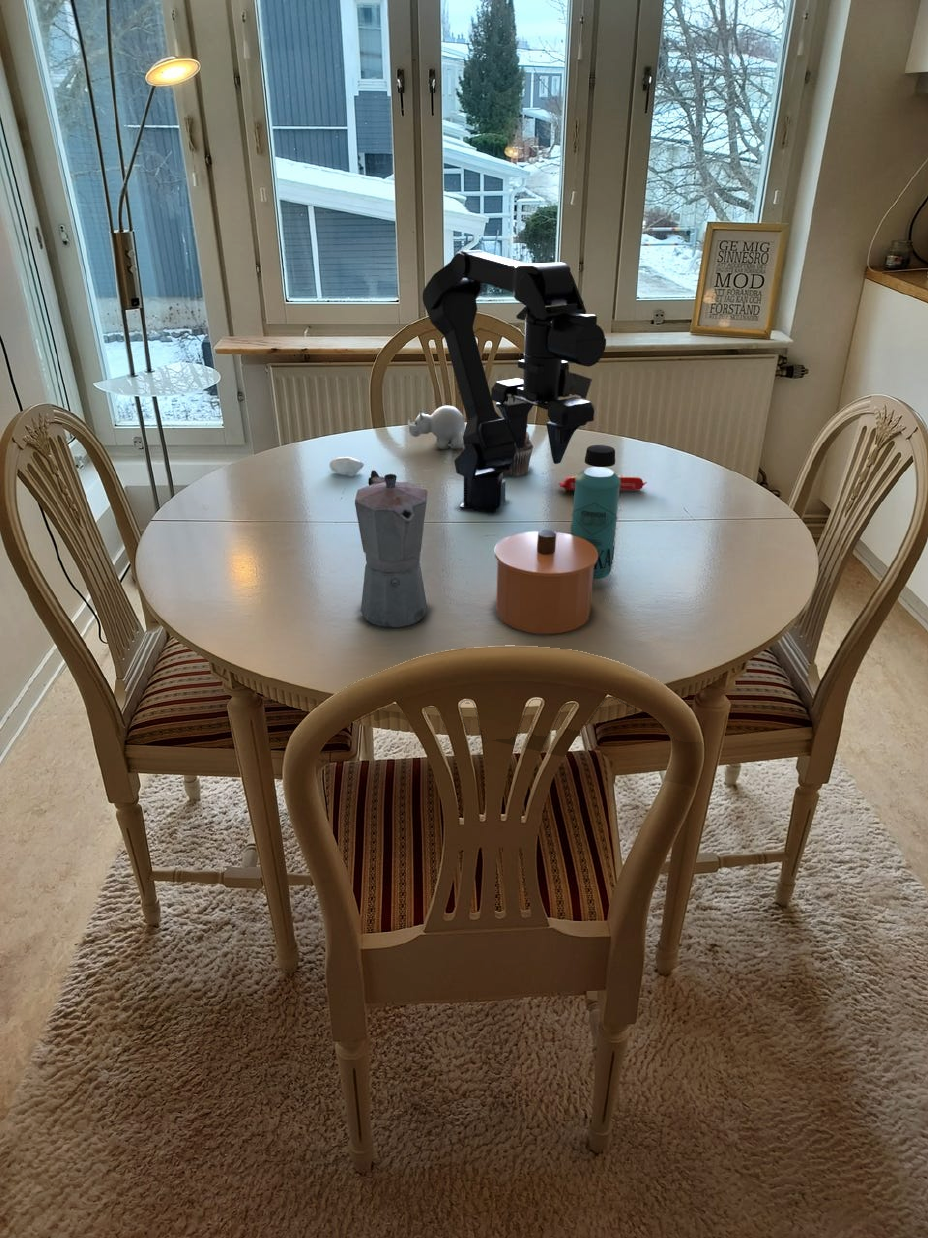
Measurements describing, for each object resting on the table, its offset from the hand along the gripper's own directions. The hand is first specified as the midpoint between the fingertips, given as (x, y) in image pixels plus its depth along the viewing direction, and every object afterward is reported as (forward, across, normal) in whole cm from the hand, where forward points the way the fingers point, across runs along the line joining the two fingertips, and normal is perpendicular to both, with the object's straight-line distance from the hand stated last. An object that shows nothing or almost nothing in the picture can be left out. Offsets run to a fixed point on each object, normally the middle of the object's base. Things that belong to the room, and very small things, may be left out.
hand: (538, 455), depth 136 cm
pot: (+13, -23, +16) cm, 31 cm away
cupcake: (+13, +28, -15) cm, 34 cm away
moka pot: (+13, -11, +34) cm, 38 cm away
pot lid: (+4, -23, +16) cm, 28 cm away
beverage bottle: (+13, -19, +4) cm, 23 cm away
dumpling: (+13, +42, +13) cm, 46 cm away
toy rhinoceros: (+13, +48, -11) cm, 51 cm away
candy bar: (+13, +8, -22) cm, 27 cm away
